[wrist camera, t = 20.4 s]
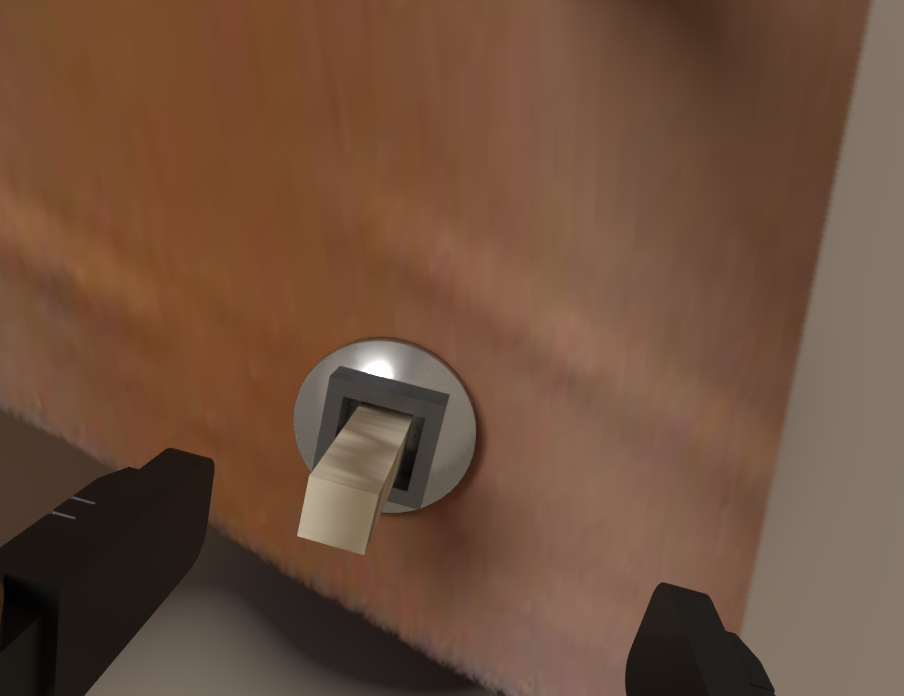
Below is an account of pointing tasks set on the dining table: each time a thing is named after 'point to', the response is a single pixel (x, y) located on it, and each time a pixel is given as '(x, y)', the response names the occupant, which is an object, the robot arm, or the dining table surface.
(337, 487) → the beige rectangular block
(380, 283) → the dining table surface
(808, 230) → the dining table surface
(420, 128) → the dining table surface
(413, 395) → the rosette plate
